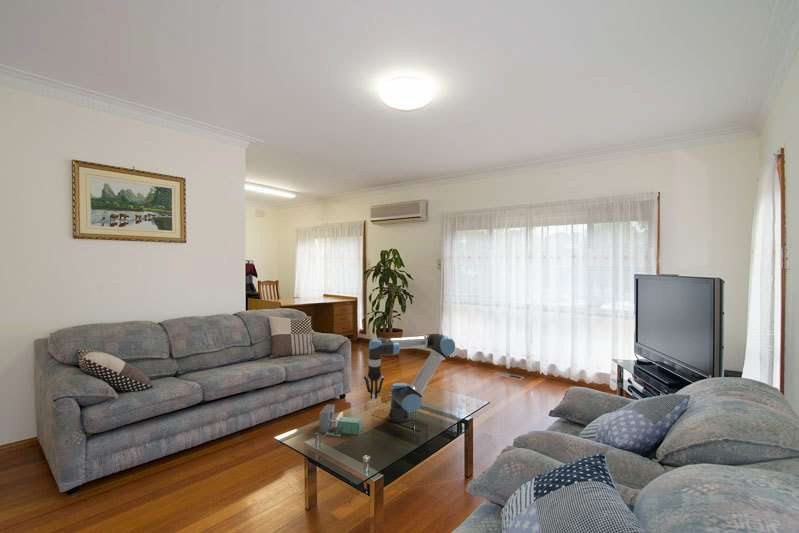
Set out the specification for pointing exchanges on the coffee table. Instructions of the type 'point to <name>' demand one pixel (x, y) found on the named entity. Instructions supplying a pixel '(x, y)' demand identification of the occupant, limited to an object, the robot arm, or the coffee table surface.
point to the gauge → (327, 420)
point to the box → (349, 425)
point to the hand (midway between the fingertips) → (373, 403)
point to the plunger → (336, 422)
